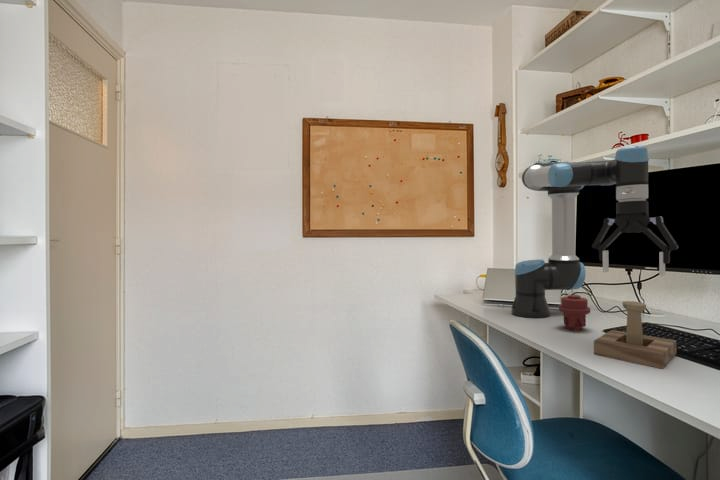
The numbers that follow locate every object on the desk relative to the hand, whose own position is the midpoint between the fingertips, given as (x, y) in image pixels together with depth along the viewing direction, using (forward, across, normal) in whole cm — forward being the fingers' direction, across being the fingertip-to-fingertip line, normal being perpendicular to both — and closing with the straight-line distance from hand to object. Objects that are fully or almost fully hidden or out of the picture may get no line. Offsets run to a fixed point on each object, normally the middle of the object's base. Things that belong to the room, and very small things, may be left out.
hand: (632, 273), depth 107 cm
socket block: (+24, 0, 0) cm, 24 cm away
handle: (+24, 0, 0) cm, 24 cm away
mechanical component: (+24, -22, +16) cm, 36 cm away
